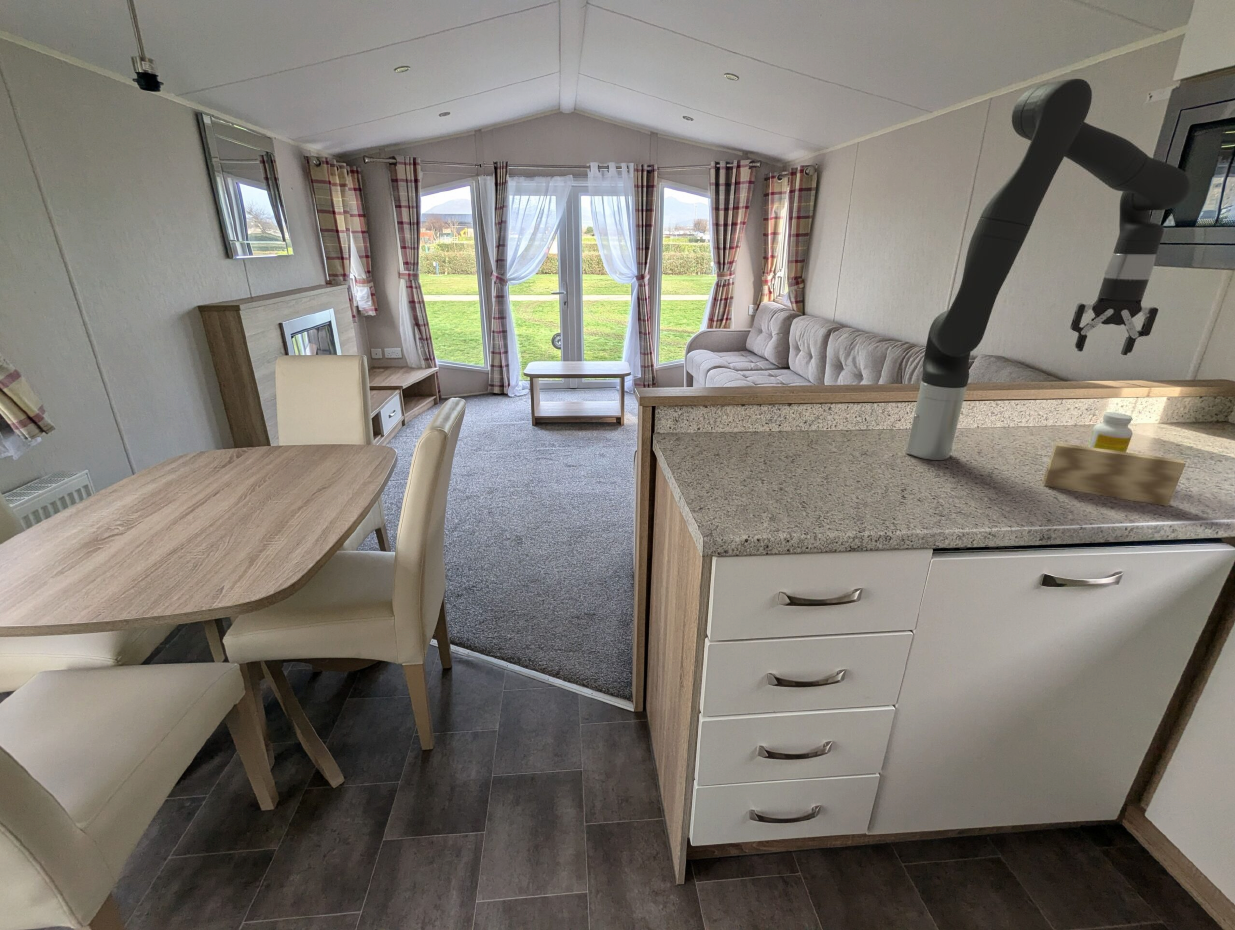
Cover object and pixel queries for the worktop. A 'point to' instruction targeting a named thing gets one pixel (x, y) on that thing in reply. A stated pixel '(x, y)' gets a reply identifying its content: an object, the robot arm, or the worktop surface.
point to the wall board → (1113, 473)
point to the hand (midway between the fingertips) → (1101, 352)
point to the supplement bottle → (1112, 432)
